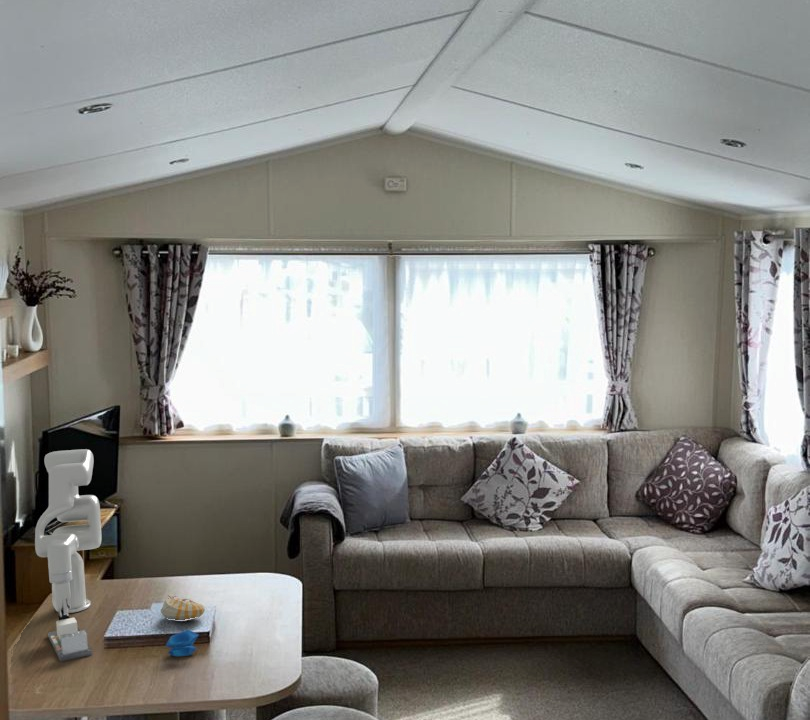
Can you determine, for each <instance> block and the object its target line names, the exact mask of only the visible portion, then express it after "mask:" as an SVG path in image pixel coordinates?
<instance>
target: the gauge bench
mask: <svg viewBox="0 0 810 720" xmlns="http://www.w3.org/2000/svg"><path fill="white" fill-rule="evenodd" d="M56 636H58V635H57V630H54V631H49V632H47V638H48V639H49V641H50V643H51V645H52V647H53V650H54V652H55V654H56V655H57V657H58V659H59V661H60V662H61V663H63V662H67V661H72V660H74V659H79V658H80V659H81V658H84V657H87V656H88V657H89V656H92V655H93V654H92V653H93V652H92V649H91V647H90V645H89V643H88V633H87V632H86V629H84V630H80V628H79V627H78V632H73V633H69V634H64V635H60V639H59V638H55V639H52V637H56Z"/></svg>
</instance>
